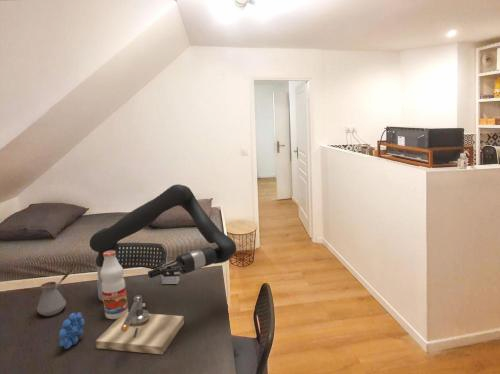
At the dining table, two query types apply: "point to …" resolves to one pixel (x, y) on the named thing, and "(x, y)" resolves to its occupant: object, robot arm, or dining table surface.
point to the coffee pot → (51, 298)
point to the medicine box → (170, 280)
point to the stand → (142, 334)
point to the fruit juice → (113, 286)
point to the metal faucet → (136, 314)
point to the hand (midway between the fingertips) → (148, 274)
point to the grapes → (71, 330)
